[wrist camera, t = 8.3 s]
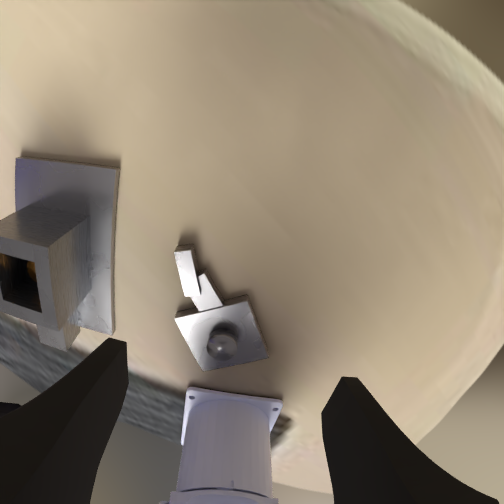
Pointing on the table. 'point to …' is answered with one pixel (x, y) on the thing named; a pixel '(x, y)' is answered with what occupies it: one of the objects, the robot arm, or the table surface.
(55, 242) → the gray hollow cube
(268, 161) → the table surface
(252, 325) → the gray t-shaped latch
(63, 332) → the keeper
